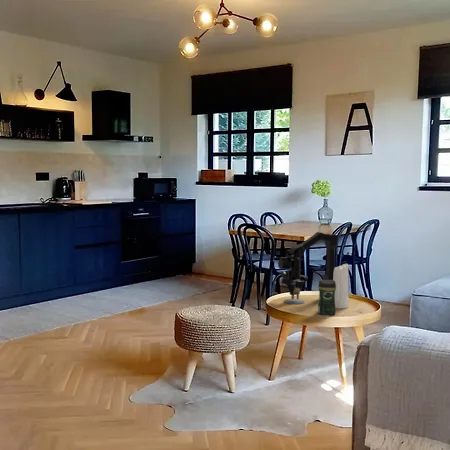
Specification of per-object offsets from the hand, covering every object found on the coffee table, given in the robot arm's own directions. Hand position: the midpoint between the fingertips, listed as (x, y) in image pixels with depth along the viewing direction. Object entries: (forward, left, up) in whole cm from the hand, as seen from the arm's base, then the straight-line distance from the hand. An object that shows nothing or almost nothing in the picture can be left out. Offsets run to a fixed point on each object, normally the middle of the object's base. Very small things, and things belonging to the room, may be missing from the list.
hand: (294, 294), depth 330 cm
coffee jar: (-29, +9, -5) cm, 31 cm away
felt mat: (0, 0, -5) cm, 5 cm away
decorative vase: (-24, -11, -5) cm, 27 cm away
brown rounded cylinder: (0, 0, -3) cm, 3 cm away
